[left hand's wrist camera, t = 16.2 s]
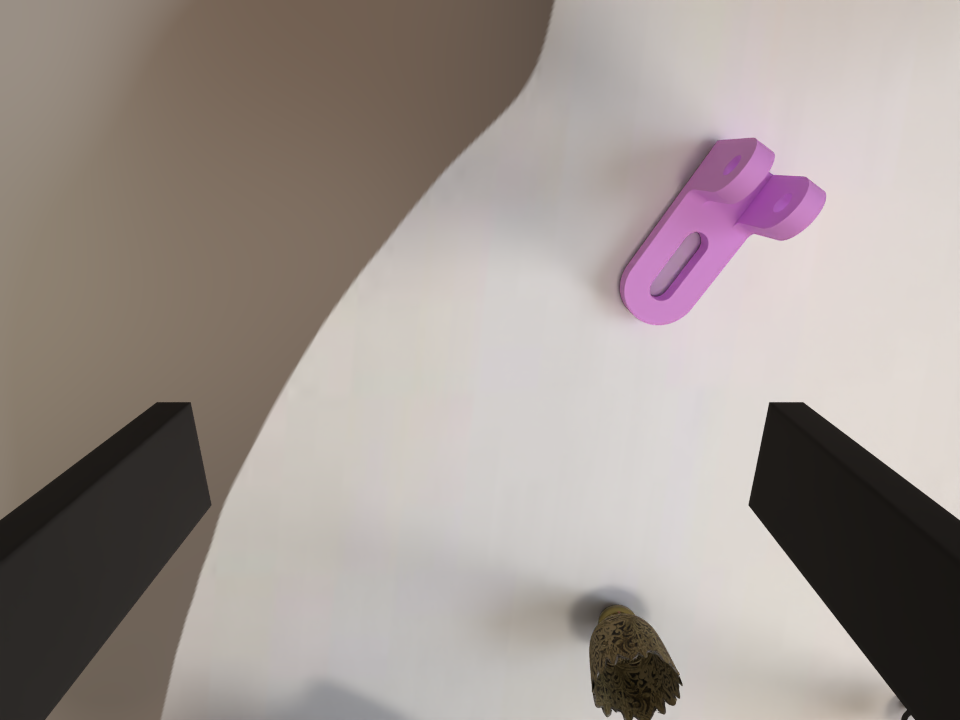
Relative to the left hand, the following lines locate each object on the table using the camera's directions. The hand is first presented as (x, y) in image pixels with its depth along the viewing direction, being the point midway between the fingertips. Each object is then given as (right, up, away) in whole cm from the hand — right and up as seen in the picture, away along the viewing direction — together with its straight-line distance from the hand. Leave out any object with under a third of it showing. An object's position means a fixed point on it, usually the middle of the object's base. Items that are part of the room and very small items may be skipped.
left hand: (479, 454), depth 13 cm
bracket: (+15, +11, +28) cm, 34 cm away
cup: (+13, -22, +40) cm, 48 cm away
